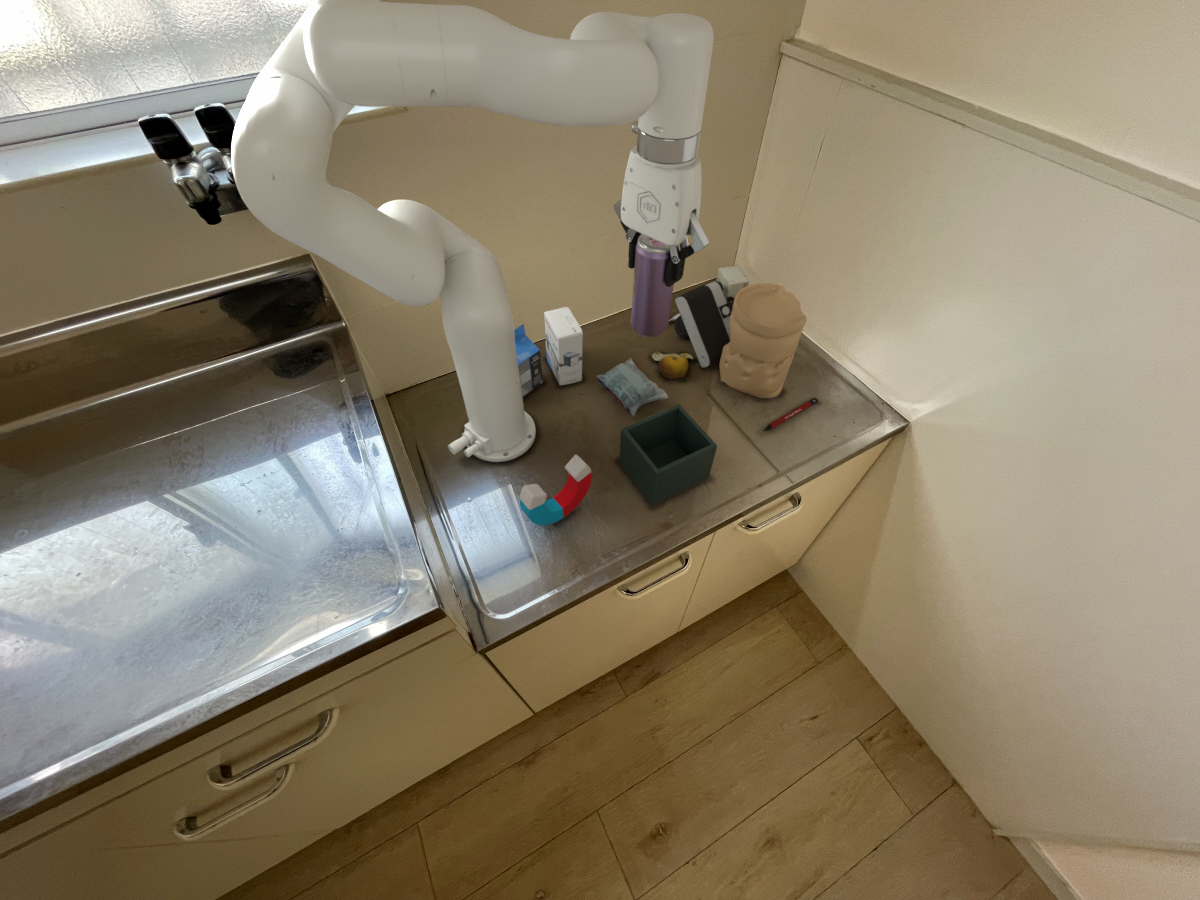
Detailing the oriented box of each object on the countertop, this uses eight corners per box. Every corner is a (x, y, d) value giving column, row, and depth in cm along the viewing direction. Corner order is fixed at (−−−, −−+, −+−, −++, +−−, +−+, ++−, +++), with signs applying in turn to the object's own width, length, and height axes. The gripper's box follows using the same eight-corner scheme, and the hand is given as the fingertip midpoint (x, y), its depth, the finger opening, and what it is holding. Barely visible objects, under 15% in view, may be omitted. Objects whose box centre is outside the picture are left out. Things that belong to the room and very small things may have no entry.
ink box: (545, 359, 114) (542, 310, 105) (569, 353, 115) (567, 304, 106) (560, 387, 109) (557, 338, 100) (584, 380, 110) (583, 332, 101)
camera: (684, 370, 119) (721, 352, 122) (713, 365, 109) (752, 345, 112) (658, 304, 116) (697, 287, 119) (685, 293, 106) (726, 274, 109)
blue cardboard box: (510, 407, 105) (502, 357, 96) (496, 398, 107) (486, 347, 97) (543, 382, 110) (539, 331, 100) (529, 373, 111) (523, 322, 102)
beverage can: (665, 341, 88) (677, 254, 76) (627, 336, 89) (633, 249, 77) (669, 317, 92) (680, 231, 80) (632, 313, 92) (639, 227, 81)
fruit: (692, 354, 115) (694, 340, 112) (694, 382, 110) (697, 368, 107) (651, 353, 115) (652, 339, 113) (652, 381, 110) (653, 367, 107)
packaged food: (631, 368, 112) (632, 349, 109) (667, 404, 106) (670, 385, 102) (594, 385, 109) (594, 366, 106) (629, 423, 103) (631, 404, 99)
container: (762, 354, 115) (785, 277, 101) (794, 396, 108) (823, 319, 94) (705, 367, 113) (721, 290, 99) (734, 411, 105) (756, 334, 91)
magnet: (533, 538, 88) (527, 501, 80) (523, 526, 89) (516, 489, 81) (592, 499, 92) (592, 461, 85) (582, 488, 94) (581, 450, 86)
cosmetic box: (738, 332, 120) (751, 282, 110) (719, 335, 119) (730, 285, 109) (727, 314, 124) (738, 264, 114) (708, 317, 123) (718, 267, 113)
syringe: (659, 326, 122) (666, 326, 120) (657, 317, 121) (664, 317, 119) (692, 309, 126) (699, 309, 124) (690, 301, 125) (697, 301, 124)
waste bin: (652, 506, 92) (656, 473, 85) (619, 462, 97) (620, 428, 91) (708, 478, 95) (717, 445, 89) (673, 437, 101) (679, 403, 94)
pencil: (760, 431, 102) (761, 427, 101) (813, 400, 107) (814, 396, 106) (763, 434, 101) (765, 431, 101) (816, 403, 107) (818, 399, 106)
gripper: (594, 132, 70) (593, 261, 84) (709, 176, 63) (687, 309, 77) (632, 114, 74) (625, 241, 88) (745, 154, 67) (718, 285, 81)
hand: (654, 272), depth 82 cm, fingers closed on beverage can, 6 cm apart
